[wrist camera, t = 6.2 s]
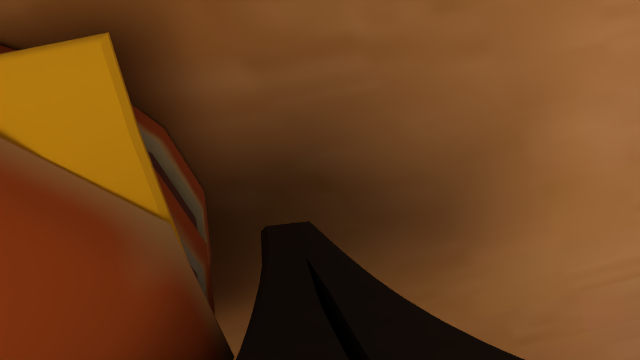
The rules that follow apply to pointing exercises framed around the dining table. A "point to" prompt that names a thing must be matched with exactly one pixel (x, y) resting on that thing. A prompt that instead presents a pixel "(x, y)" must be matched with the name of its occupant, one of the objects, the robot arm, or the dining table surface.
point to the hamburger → (96, 218)
